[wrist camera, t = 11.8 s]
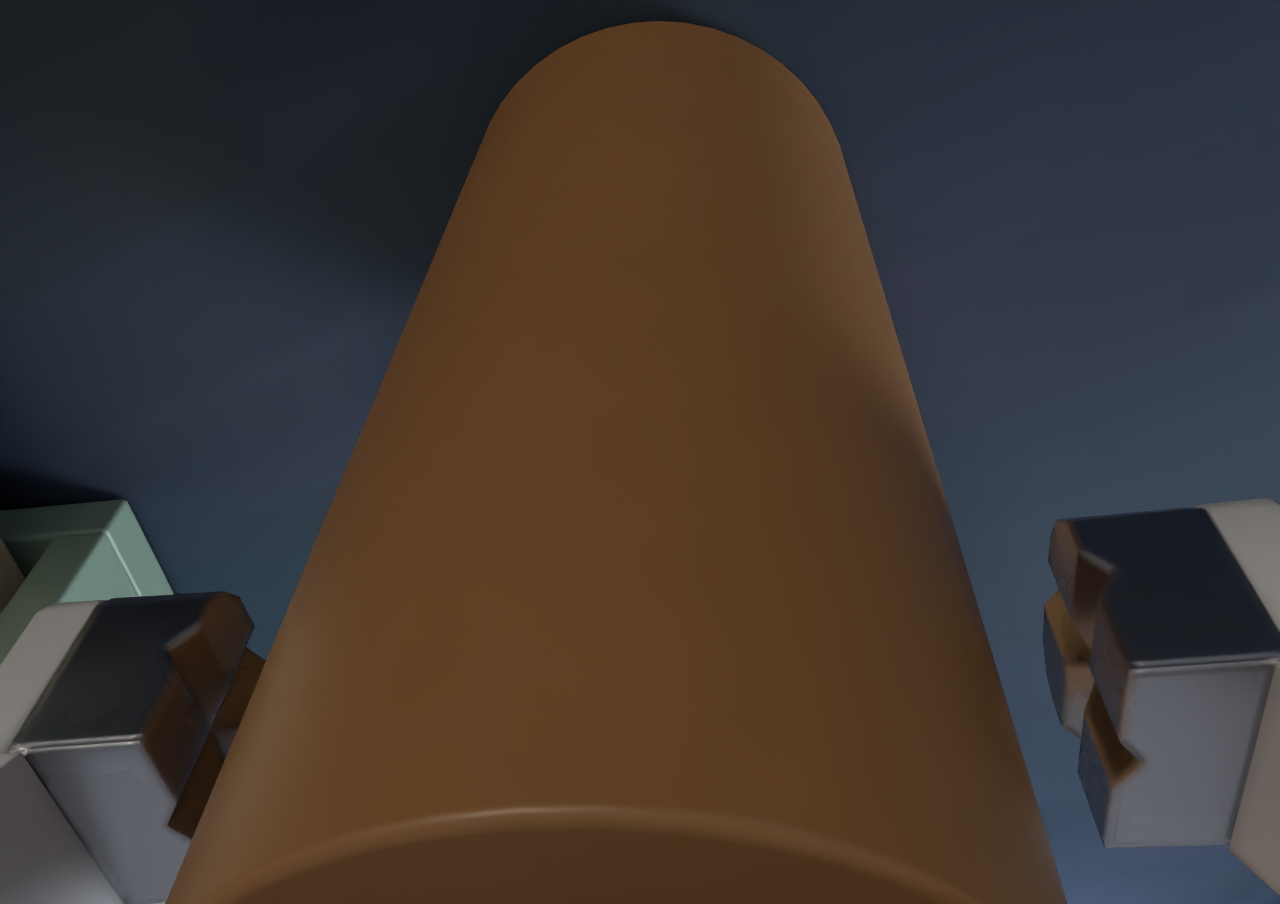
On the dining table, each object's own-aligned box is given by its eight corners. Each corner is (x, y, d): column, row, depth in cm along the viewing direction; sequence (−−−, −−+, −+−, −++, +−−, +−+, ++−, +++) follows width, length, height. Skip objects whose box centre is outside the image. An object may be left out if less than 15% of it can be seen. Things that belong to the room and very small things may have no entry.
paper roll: (433, 48, 15) (-83, 865, 5) (840, -8, 14) (1182, 791, 4) (514, 388, 18) (296, 1321, 8) (854, 352, 17) (1077, 1313, 7)
